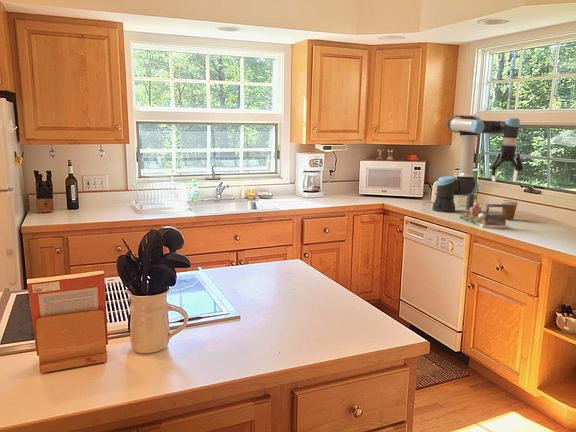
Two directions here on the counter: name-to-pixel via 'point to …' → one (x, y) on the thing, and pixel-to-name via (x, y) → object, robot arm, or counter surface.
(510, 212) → the disposable coffee cup
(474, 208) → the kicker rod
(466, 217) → the pitch
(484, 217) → the ball
